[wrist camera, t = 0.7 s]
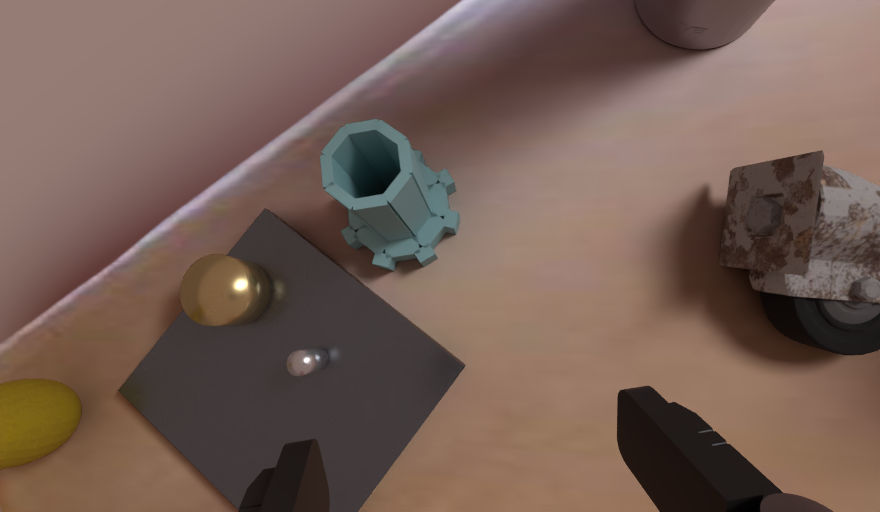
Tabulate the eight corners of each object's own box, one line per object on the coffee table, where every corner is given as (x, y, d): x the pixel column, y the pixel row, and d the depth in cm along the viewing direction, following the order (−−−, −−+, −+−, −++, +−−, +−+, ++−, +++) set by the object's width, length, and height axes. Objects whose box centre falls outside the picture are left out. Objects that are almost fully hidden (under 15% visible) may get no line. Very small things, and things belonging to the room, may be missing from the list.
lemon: (67, 463, 31) (-75, 511, 23) (31, 406, 32) (-116, 433, 24) (123, 413, 31) (1, 443, 23) (85, 357, 32) (-43, 368, 24)
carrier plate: (272, 212, 32) (242, 196, 28) (465, 364, 29) (462, 371, 25) (132, 388, 31) (78, 397, 27) (315, 568, 28) (286, 610, 24)
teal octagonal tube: (393, 139, 32) (354, 60, 23) (481, 201, 31) (480, 143, 21) (325, 225, 32) (255, 182, 22) (412, 292, 30) (377, 278, 20)
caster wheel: (838, 340, 29) (701, 329, 29) (862, 181, 29) (722, 167, 28) (960, 373, 23) (785, 360, 22) (995, 166, 22) (814, 148, 21)
